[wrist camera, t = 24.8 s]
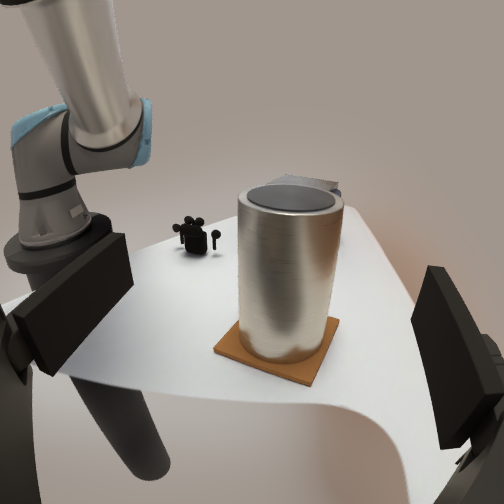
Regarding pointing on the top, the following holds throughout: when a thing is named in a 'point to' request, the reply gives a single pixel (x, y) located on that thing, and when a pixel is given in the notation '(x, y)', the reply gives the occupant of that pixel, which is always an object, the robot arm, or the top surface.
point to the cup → (286, 268)
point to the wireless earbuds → (195, 235)
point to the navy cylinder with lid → (308, 183)
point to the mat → (294, 371)
